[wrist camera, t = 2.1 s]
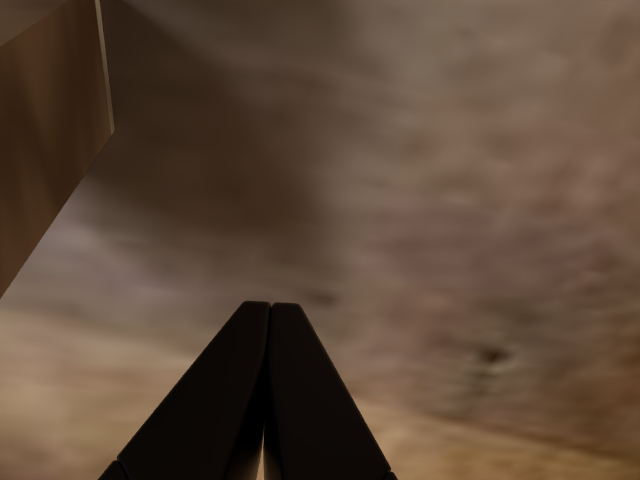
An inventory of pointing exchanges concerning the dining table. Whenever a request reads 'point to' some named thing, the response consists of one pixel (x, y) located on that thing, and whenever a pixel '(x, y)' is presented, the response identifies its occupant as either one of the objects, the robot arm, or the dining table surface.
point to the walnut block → (47, 115)
